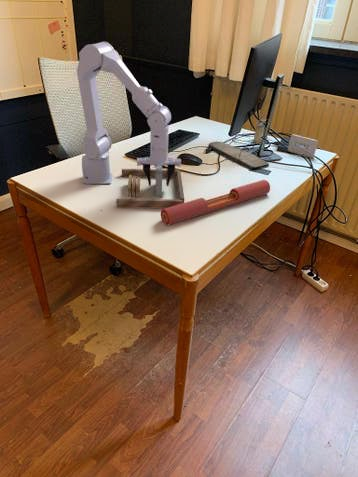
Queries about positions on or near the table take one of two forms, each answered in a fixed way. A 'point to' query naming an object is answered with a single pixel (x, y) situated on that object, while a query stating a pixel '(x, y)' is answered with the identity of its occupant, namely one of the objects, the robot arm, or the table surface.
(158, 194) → the grey upright plank
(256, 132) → the lighter
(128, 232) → the table surface
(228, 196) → the blood vessel
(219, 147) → the stone slab
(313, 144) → the cassette
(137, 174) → the rack
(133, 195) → the offcut stack
